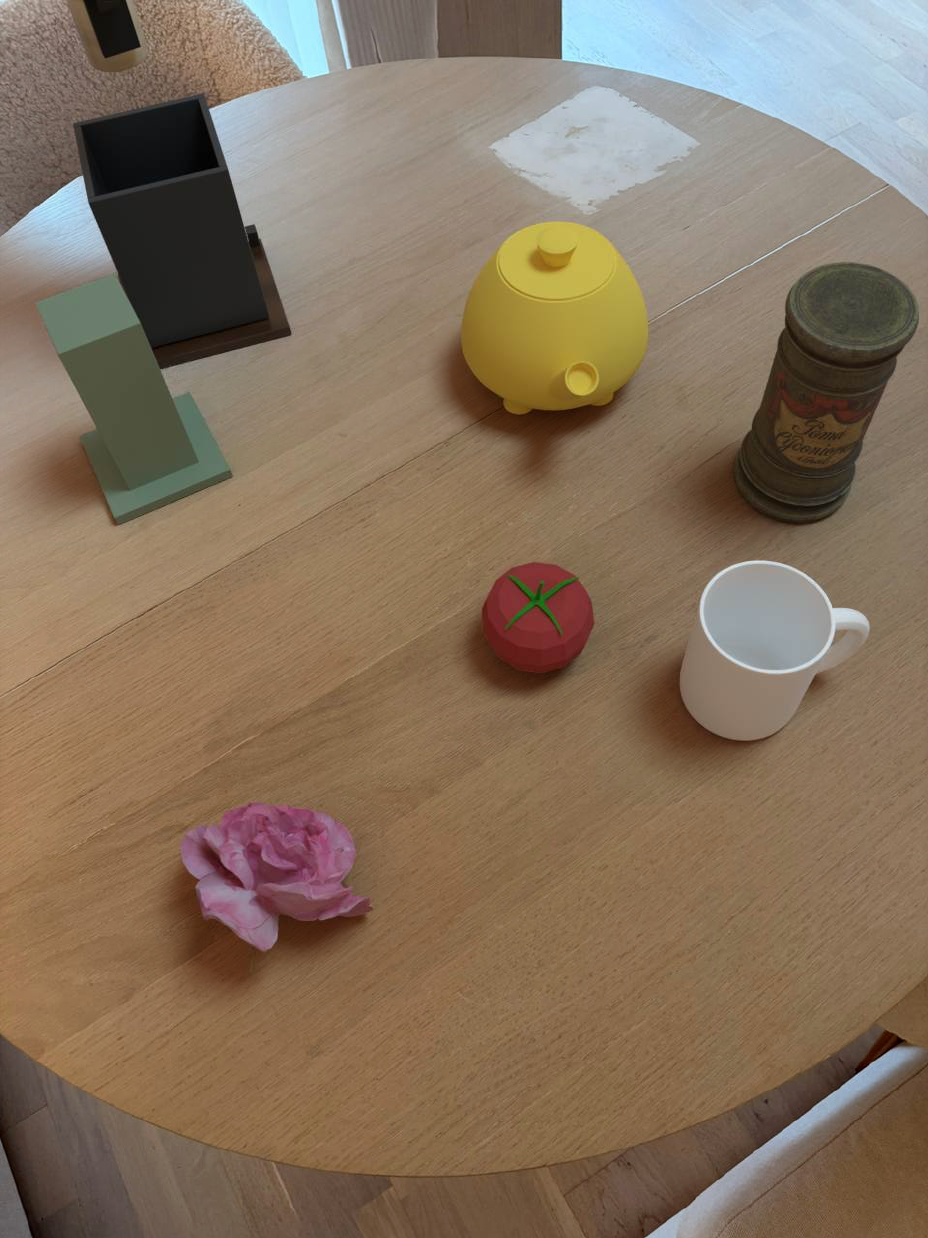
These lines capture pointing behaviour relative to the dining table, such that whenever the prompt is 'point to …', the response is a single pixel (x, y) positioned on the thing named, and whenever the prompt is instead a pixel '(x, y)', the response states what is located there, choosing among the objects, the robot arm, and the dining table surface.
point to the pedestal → (129, 403)
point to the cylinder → (92, 46)
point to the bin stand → (238, 334)
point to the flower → (271, 869)
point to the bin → (170, 218)
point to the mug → (761, 648)
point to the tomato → (537, 617)
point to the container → (824, 389)
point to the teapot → (554, 320)
